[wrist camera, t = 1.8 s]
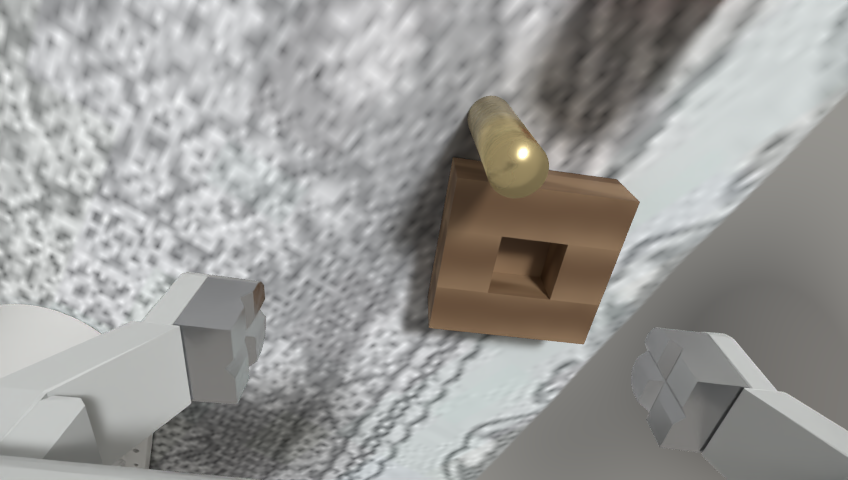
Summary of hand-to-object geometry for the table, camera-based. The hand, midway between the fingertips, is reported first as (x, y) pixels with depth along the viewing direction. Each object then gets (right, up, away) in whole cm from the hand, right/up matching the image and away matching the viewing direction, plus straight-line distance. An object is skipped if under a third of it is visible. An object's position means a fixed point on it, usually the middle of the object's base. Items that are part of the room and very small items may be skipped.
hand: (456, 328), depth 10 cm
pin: (+4, +10, +22) cm, 24 cm away
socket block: (+6, +2, +27) cm, 27 cm away
